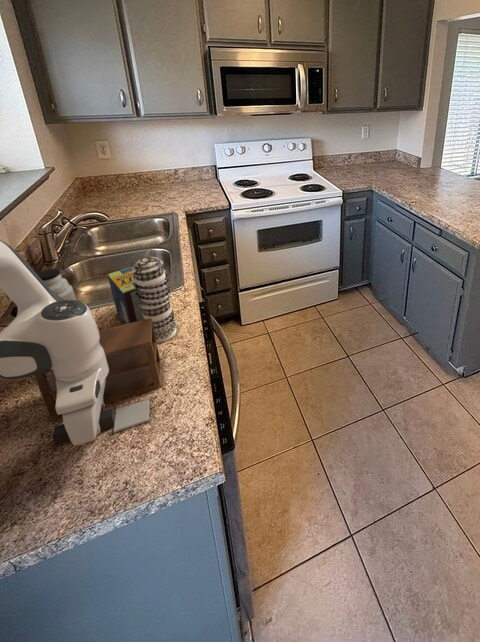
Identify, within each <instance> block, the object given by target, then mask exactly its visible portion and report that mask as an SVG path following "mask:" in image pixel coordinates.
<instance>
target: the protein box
mask: <svg viewBox="0 0 480 642" xmlns="http://www.w3.org/2000/svg"><path fill="white" fill-rule="evenodd" d="M133 266H134V265H131V266H128V267H125V268H122V269H120V270H116V271H114V272H110V273H107V279H108V283H109V286H110V290H111V295H112V299H113V302H114V307H115V310H116V313H117V316H118V318H119V319H120V321H121V322H122V323H123V325H124V324H128V323H133V322H137V321H141V320H143V310H142V308H141V307H140V305H139V303H140V302H139V301H138V297H137V296H138V295H136V291H135V287H134V286H135V284H136V282H135V274H134V271H133V270H132V267H133ZM137 289H138V287H137Z"/></svg>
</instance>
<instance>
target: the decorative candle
mask: <svg viewBox="0 0 480 642" xmlns="http://www.w3.org/2000/svg"><path fill="white" fill-rule="evenodd" d="M132 266H133V267H132V270H133V271H134V274H135V282H136V284H135V286H134V287H135V291H136V295H138V296H137V297H138V301H139V302H140V303H139V305H140V307H141V308H142V310H143V320H145V319H149V318H152V322H153V327H154V332H155V336H156V341H157V344H160V343H163V342H166V341H168V340H170V339H172V338H173V337H174V336H175V335H176V333H177V323H176V319H175V313H174V309H172V303H171V302H170V300H171V297H172V296H171V289H170V284H169V282H170V280H169V274H168V273H167V272H166V271H165V269H164V260H162V259H159V258H158V257H156V256H146V257H142V258H140V259H138V260H137V261H136V262H135V264H134V265H132ZM137 287H138V289H137Z"/></svg>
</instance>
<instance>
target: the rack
mask: <svg viewBox="0 0 480 642" xmlns="http://www.w3.org/2000/svg"><path fill="white" fill-rule="evenodd" d="M98 331H99V335H100V339H99V343H100V345H101V346H102V348H103V349H104V353H105V356H106V360H107V363H108V367H109V372H108V375H107V377H106V383H105V389H104V394H103V402H104V405H105V404H109V403H112V402H115V401H119V400H122V399H124V398H128V397H131V396H135V395H138V394H141V393H144V392H148V391H152V390H154V389H157V388H161V387H162V377H161V376H162V373H161V370H162V367H161V363H162V360H161V355H160V351H159V346H158V343H157V341H156V336H155V332H154V327H153V322H152V318H149V319H145V320H141V321H137V322H133V323H128V324H124V323H123V324H121V325H120V324H119V325H117V326H111V327H107V328H103V329H100V330H99V329H98ZM47 373H49V375H48V377H47ZM34 378H35V380H36V383H37V386H38V388H39V391H40V394H41V397H42V400H43V403H44V405H45V407H46V410H47V413H48V416H49V418H50V420H51V421H54V420H57V419H60V418H63V416H62V415H63V414H60V415H58V414H57V412H56V409H55V406H56V398H55V396H56V395H57V386H56V378H55V375H54V372H53V370H52V369H50V370H49V371H47V372H44V373H41V374H38V375H34Z"/></svg>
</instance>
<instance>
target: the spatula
mask: <svg viewBox="0 0 480 642" xmlns="http://www.w3.org/2000/svg"><path fill="white" fill-rule="evenodd" d="M150 402H151V401H150V398H148V399H144V400H142V401H139V402H136V403H133V404H129V405H126V406H123V407H119V408H116V409H115V410H114V408H113V407H112V408H109V409H106V410H105V409H104V411H102V412H100V417H99V422H100V425H101V430H100V432H101V431H104V430H107V429H110V428H113V434H114V433H118V432H120V431H124V430H128V429H130V428H133V427H135V426H139V425H142V424H144V423H148V422H149V421H150V404H151V403H150ZM51 435H52V436H51V437H52V440H53V442H54V444H55V446H60V445H62V444H65V443H68V442H71V440H70V438H69V436H68V434H67V431H66V429H65V426H64V423H60V424H58V425H55V426H54V428H53V432H52V434H51Z"/></svg>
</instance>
